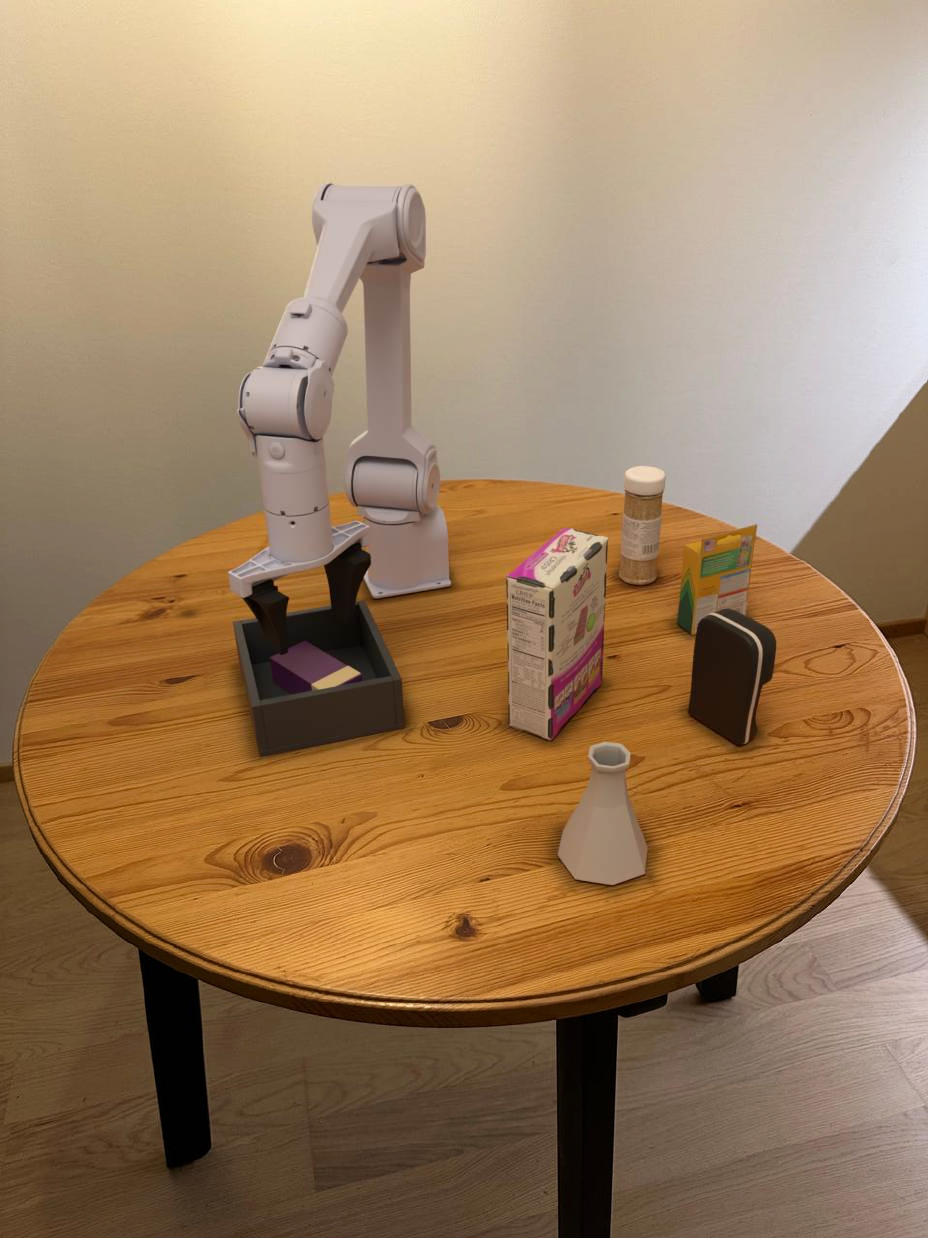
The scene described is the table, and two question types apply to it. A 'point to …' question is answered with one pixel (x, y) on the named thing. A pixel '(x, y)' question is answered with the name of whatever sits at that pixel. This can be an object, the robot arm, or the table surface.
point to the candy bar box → (555, 631)
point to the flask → (604, 823)
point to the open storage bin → (325, 710)
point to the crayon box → (715, 576)
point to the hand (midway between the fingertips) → (311, 634)
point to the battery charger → (730, 672)
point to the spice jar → (641, 524)
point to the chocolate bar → (310, 670)
